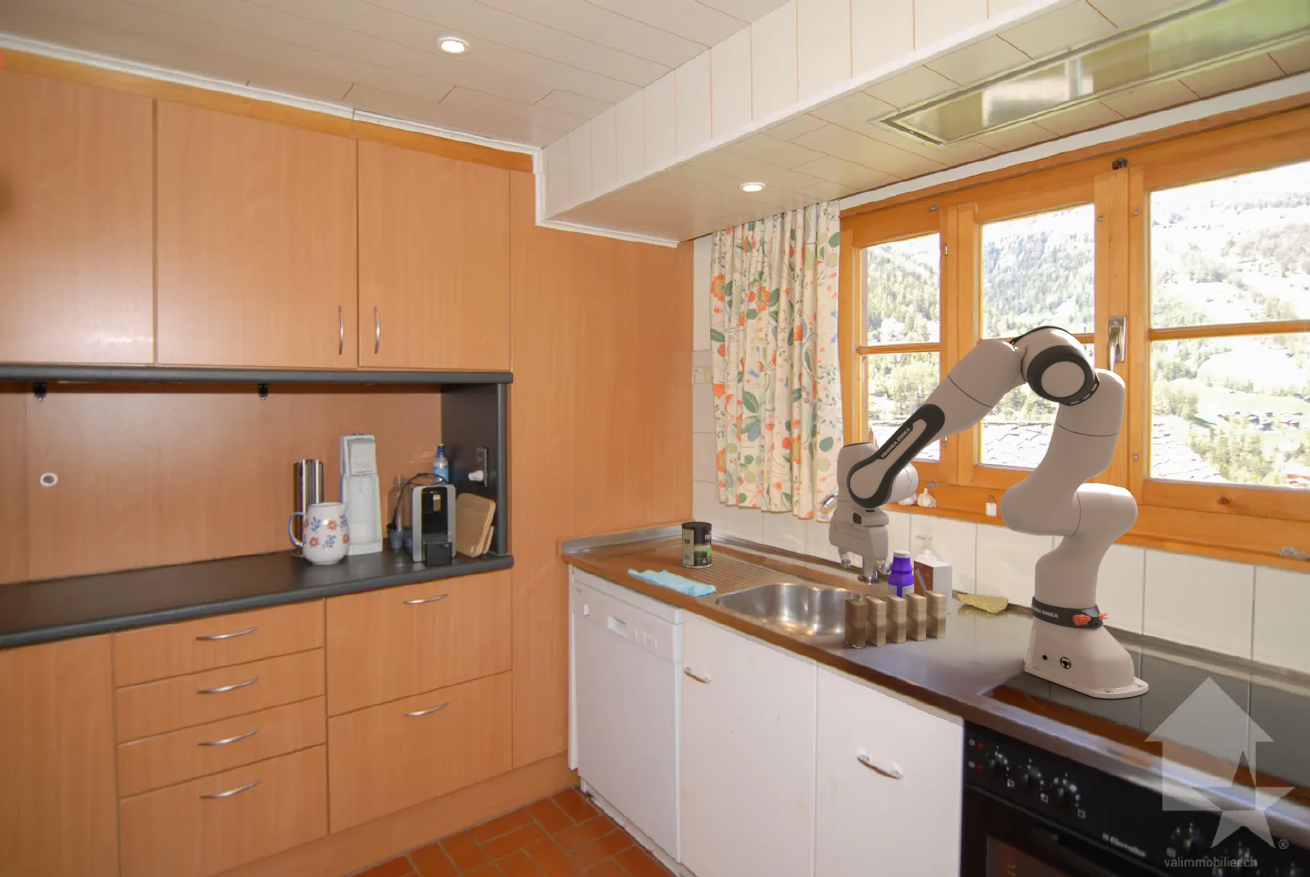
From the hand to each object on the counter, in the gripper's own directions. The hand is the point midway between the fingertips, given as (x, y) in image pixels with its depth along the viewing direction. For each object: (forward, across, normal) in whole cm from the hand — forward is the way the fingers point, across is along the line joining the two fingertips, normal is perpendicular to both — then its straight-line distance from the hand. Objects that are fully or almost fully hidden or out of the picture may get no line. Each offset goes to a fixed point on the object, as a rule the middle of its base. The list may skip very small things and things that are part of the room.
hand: (856, 571), depth 161 cm
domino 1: (+17, +1, -1) cm, 17 cm away
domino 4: (+17, 0, +15) cm, 23 cm away
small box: (+17, -16, +32) cm, 40 cm away
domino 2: (+17, +1, +4) cm, 17 cm away
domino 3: (+17, +1, +10) cm, 19 cm away
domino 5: (+17, 0, +21) cm, 27 cm away
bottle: (+17, -13, +20) cm, 29 cm away
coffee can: (+15, -81, -13) cm, 84 cm away
